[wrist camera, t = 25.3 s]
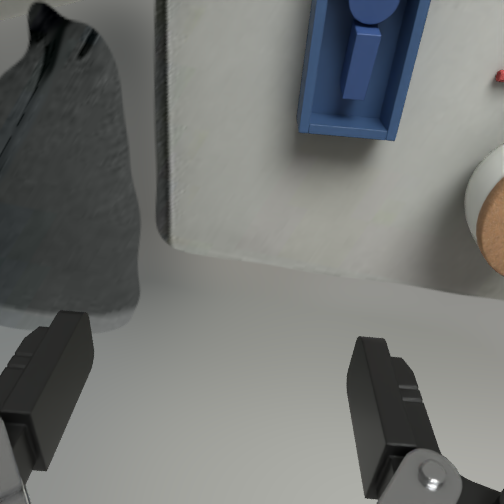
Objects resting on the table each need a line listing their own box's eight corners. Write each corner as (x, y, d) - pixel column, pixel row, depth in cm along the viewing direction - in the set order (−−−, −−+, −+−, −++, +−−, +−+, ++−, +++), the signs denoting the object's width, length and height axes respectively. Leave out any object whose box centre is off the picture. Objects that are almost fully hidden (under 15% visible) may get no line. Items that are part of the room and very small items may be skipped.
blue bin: (296, 117, 36) (298, 132, 33) (319, -57, 30) (324, -58, 27) (384, 125, 36) (395, 141, 33) (426, -47, 30) (443, -47, 27)
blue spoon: (371, 85, 34) (375, 102, 32) (328, 81, 34) (330, 98, 32) (404, -36, 28) (411, -24, 27) (352, -41, 28) (356, -29, 27)
